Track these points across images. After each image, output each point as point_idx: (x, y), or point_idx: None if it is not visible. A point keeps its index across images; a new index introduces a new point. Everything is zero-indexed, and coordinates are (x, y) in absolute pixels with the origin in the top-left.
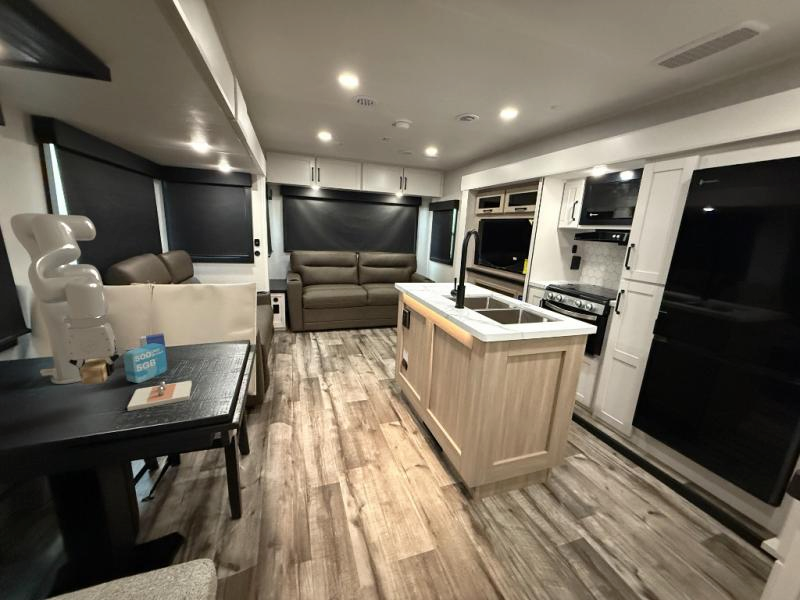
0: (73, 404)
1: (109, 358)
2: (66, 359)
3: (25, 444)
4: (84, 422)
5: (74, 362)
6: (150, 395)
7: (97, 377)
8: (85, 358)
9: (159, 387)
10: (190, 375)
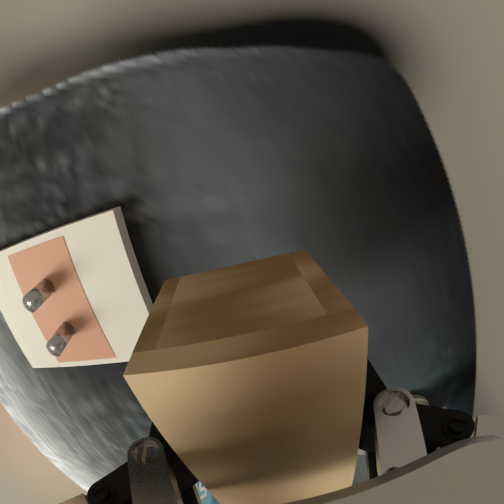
0: (352, 296)
1: (135, 491)
2: (493, 428)
3: (358, 55)
4: (246, 144)
5: (436, 426)
6: (80, 293)
7: (198, 294)
8: (353, 500)
9: (30, 303)
10: (81, 410)
